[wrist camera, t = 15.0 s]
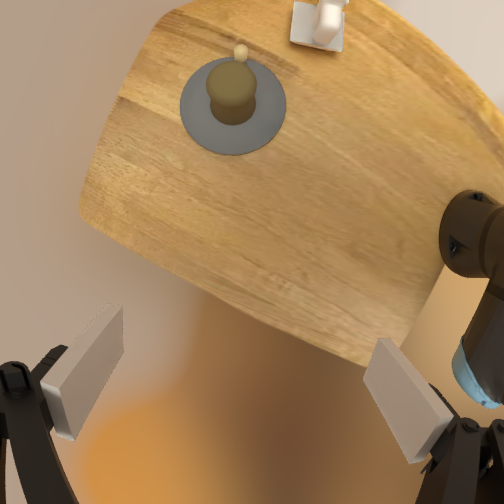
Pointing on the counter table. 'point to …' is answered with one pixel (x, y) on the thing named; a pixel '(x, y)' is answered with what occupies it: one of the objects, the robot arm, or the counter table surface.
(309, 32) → the figurine
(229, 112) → the brown rounded upright piece
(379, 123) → the counter table surface
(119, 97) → the counter table surface
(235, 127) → the coaster plate
